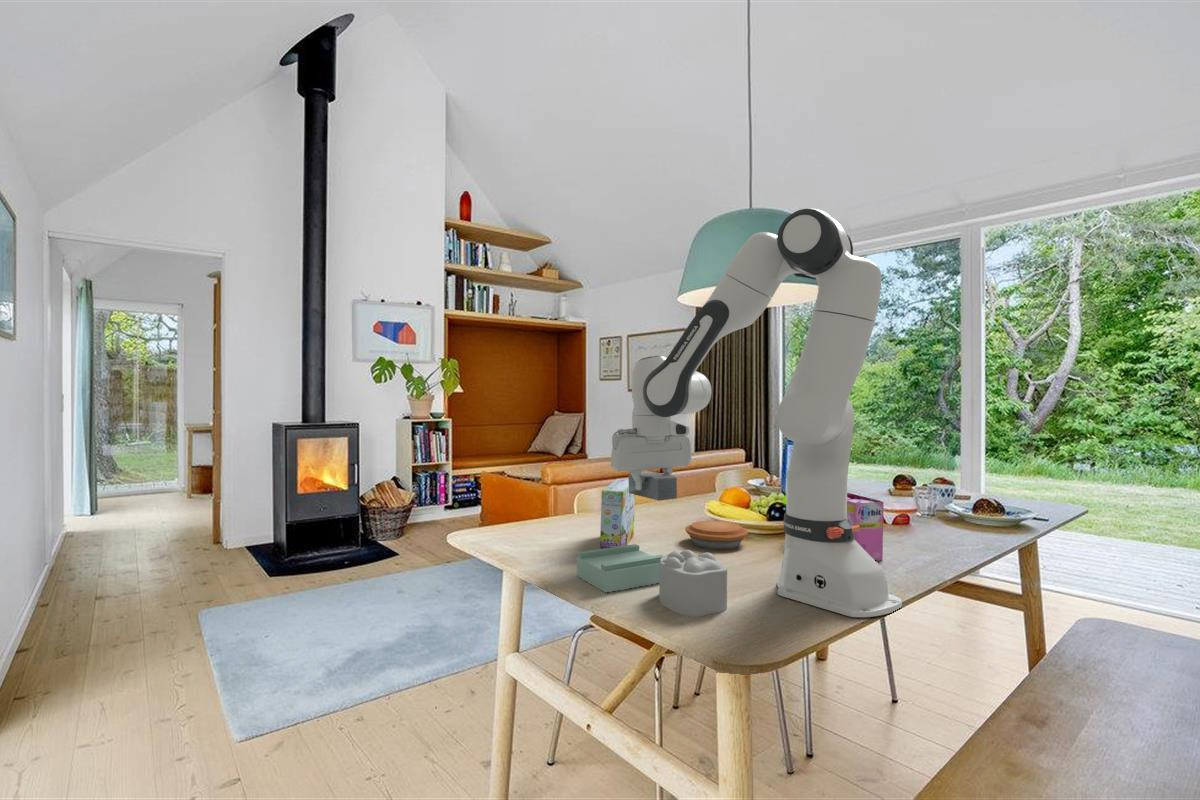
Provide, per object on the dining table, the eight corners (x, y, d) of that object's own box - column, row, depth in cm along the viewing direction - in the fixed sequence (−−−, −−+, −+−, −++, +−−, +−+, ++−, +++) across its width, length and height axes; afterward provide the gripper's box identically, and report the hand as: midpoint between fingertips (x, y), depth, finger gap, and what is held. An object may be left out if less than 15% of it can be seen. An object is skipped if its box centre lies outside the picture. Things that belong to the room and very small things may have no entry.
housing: (676, 498, 132) (676, 475, 132) (658, 500, 129) (658, 477, 129) (646, 491, 142) (646, 470, 142) (628, 493, 140) (628, 471, 140)
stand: (666, 581, 119) (666, 557, 119) (606, 593, 112) (606, 566, 112) (634, 566, 129) (634, 543, 129) (576, 575, 122) (576, 551, 122)
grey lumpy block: (685, 619, 100) (685, 567, 100) (646, 595, 111) (646, 549, 111) (735, 609, 104) (735, 560, 104) (692, 587, 116) (692, 543, 116)
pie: (674, 538, 155) (674, 519, 155) (727, 534, 159) (728, 516, 159) (702, 554, 140) (702, 533, 140) (760, 549, 145) (760, 528, 145)
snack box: (622, 556, 137) (623, 491, 137) (598, 555, 139) (599, 490, 138) (635, 535, 158) (636, 478, 158) (614, 533, 159) (615, 477, 159)
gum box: (793, 537, 156) (794, 486, 156) (819, 536, 158) (820, 485, 158) (854, 563, 133) (855, 502, 133) (884, 560, 135) (885, 501, 135)
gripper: (619, 429, 128) (620, 494, 128) (695, 426, 138) (695, 486, 138) (605, 428, 133) (605, 490, 133) (678, 425, 143) (679, 483, 143)
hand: (652, 488), depth 136 cm, fingers closed on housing, 5 cm apart
